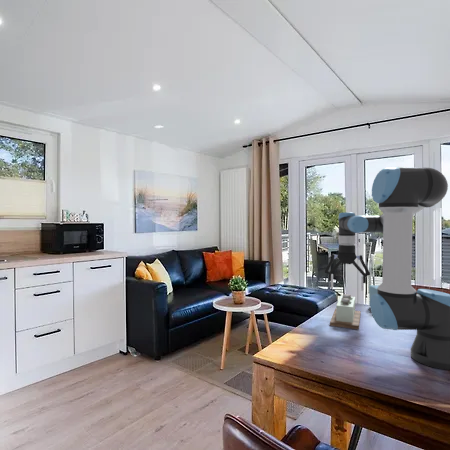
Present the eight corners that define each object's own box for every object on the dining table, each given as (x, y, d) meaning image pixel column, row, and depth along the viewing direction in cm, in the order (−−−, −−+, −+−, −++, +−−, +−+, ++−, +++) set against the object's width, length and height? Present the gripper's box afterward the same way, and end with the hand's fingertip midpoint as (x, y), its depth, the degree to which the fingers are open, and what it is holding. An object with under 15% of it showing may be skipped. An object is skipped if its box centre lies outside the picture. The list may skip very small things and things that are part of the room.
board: (358, 329, 139) (359, 304, 139) (329, 325, 144) (329, 301, 144) (360, 314, 162) (360, 292, 162) (335, 311, 167) (335, 290, 167)
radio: (401, 315, 159) (401, 275, 159) (382, 315, 159) (383, 275, 159) (385, 307, 175) (386, 270, 175) (368, 307, 175) (369, 270, 175)
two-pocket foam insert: (352, 322, 143) (352, 307, 143) (336, 320, 146) (336, 305, 146) (355, 310, 162) (355, 297, 162) (340, 309, 165) (340, 295, 165)
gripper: (375, 244, 152) (375, 289, 152) (321, 243, 163) (321, 285, 163) (375, 245, 146) (375, 292, 145) (318, 244, 156) (318, 288, 156)
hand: (346, 289), depth 154 cm, fingers open, 13 cm apart
